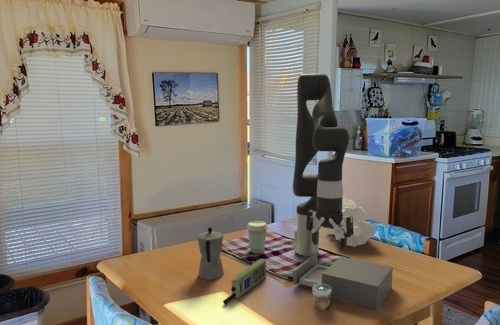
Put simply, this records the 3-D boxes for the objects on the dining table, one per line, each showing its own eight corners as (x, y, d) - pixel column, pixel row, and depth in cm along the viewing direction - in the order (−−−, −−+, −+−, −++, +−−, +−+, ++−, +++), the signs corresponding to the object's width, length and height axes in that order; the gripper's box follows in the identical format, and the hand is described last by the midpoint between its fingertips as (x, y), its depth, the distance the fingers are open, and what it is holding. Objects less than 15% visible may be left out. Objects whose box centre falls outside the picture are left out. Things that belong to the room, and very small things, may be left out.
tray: (291, 283, 138) (291, 269, 137) (313, 266, 153) (313, 253, 152) (342, 297, 128) (342, 282, 127) (360, 277, 143) (361, 263, 142)
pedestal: (314, 307, 125) (314, 295, 124) (320, 301, 128) (320, 289, 128) (323, 310, 123) (324, 297, 122) (329, 304, 127) (329, 292, 126)
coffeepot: (200, 267, 156) (199, 222, 153) (225, 267, 156) (224, 222, 153) (195, 285, 141) (193, 235, 138) (222, 285, 141) (221, 235, 138)
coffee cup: (271, 249, 174) (270, 222, 172) (260, 256, 167) (260, 227, 165) (254, 246, 178) (253, 219, 177) (243, 252, 171) (242, 224, 169)
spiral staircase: (344, 258, 174) (329, 236, 198) (382, 240, 173) (362, 220, 198) (327, 222, 170) (314, 204, 194) (366, 203, 169) (347, 187, 194)
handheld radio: (267, 277, 147) (229, 307, 126) (259, 275, 149) (220, 305, 128) (267, 259, 146) (228, 286, 125) (259, 258, 148) (219, 284, 127)
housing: (321, 295, 133) (321, 273, 132) (340, 276, 147) (341, 256, 146) (376, 309, 123) (377, 286, 122) (391, 288, 137) (392, 266, 136)
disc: (308, 295, 124) (309, 289, 124) (317, 287, 129) (317, 281, 129) (327, 300, 121) (327, 293, 121) (335, 292, 126) (335, 286, 126)
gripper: (302, 194, 122) (302, 246, 124) (348, 199, 114) (347, 255, 116) (313, 189, 128) (312, 239, 130) (357, 194, 120) (356, 247, 122)
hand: (328, 246), depth 123 cm, fingers open, 8 cm apart
